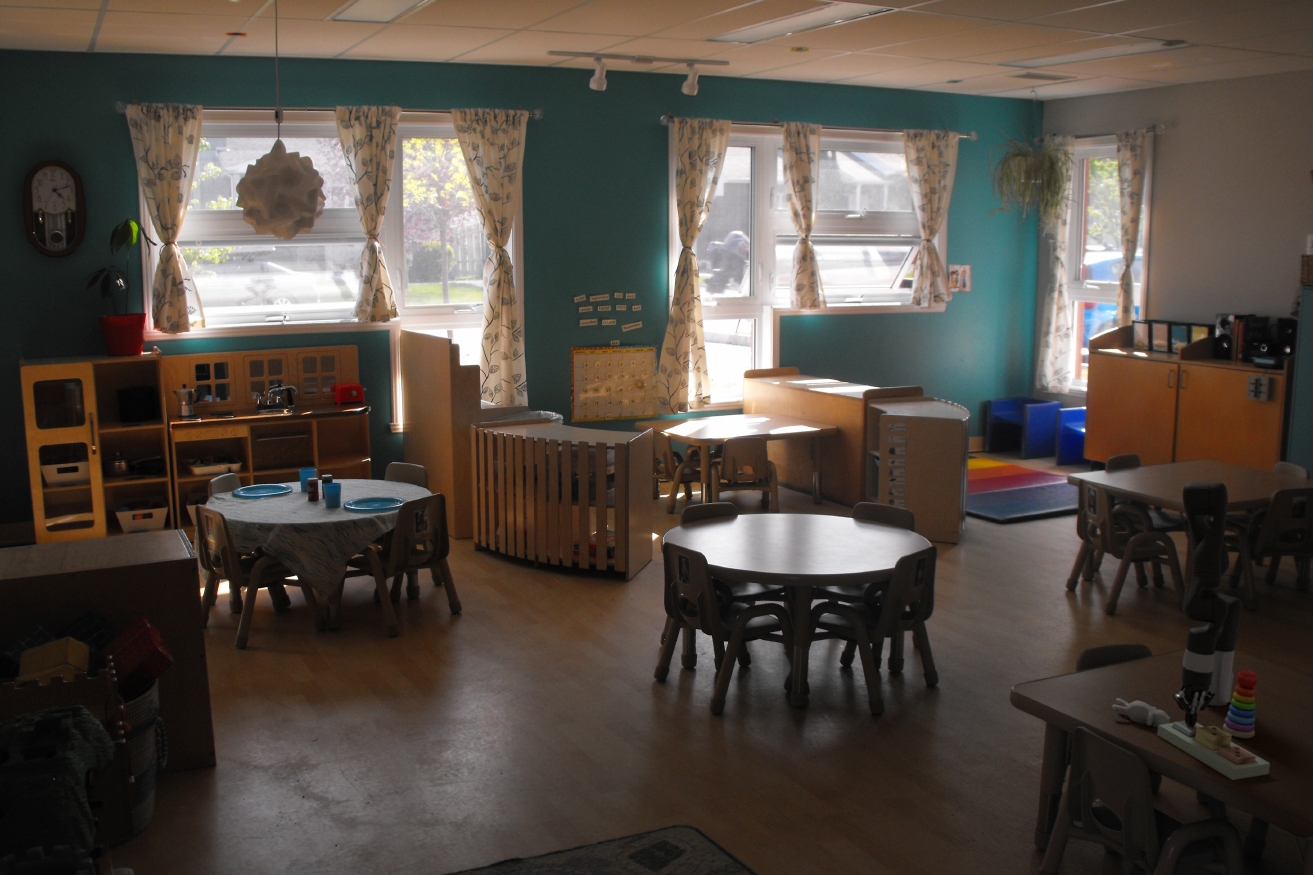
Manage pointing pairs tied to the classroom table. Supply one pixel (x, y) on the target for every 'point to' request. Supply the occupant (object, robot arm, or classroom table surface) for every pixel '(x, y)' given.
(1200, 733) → the tile
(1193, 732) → the grey block
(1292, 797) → the classroom table surface
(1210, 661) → the robot arm
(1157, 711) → the bunny figurine
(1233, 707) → the stacking toy
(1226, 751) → the tile
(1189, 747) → the number board
